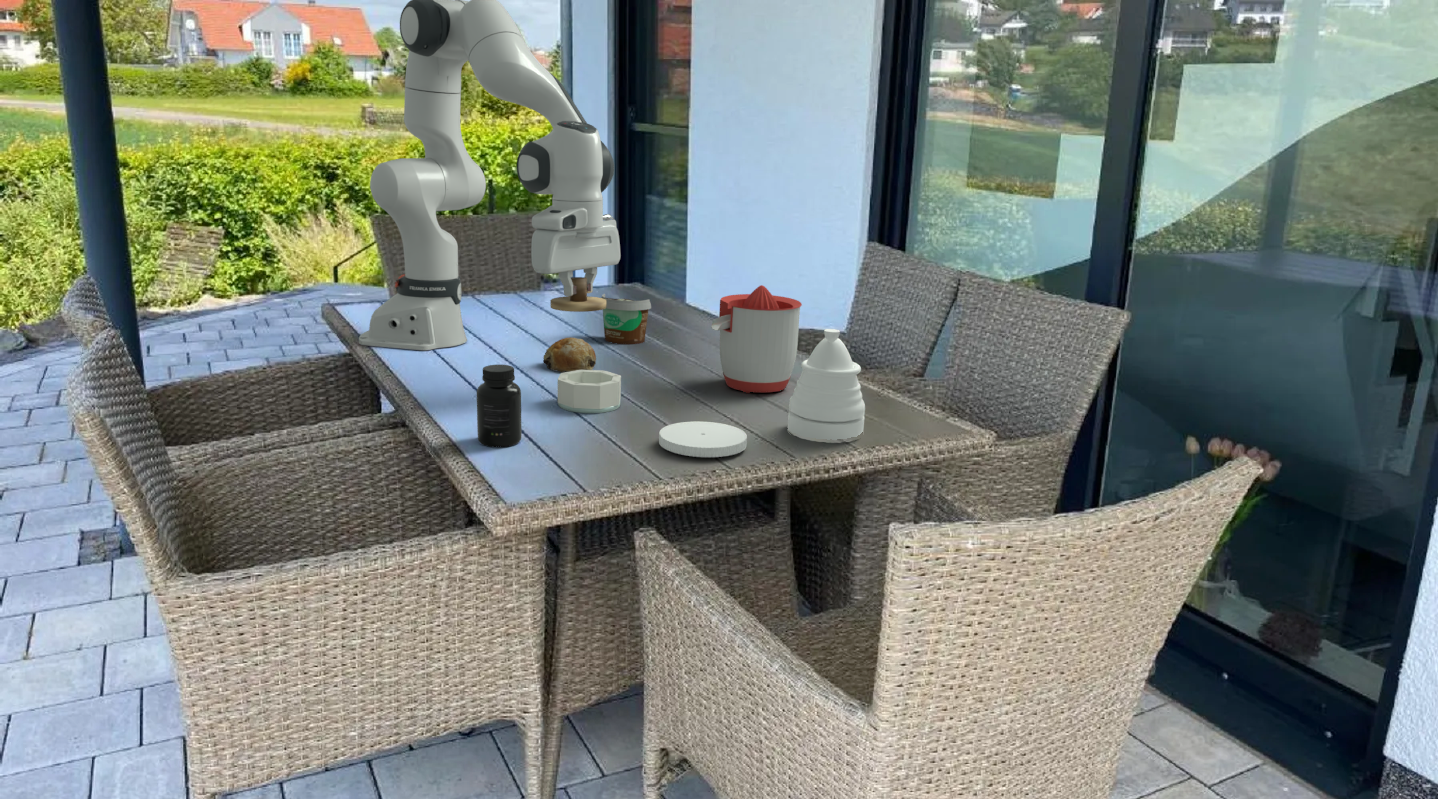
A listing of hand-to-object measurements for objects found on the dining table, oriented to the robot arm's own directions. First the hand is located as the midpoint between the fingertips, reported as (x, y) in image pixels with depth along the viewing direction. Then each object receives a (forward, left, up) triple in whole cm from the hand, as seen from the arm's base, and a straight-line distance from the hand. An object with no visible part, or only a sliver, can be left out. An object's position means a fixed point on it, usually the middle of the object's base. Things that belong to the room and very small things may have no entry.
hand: (578, 294), depth 194 cm
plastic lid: (+23, -29, -19) cm, 41 cm away
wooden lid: (0, 0, -2) cm, 2 cm away
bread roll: (-4, +21, -19) cm, 28 cm away
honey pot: (+44, -18, -19) cm, 51 cm away
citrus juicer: (+33, +10, -19) cm, 39 cm away
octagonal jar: (+3, -7, -19) cm, 20 cm away
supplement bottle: (-9, -30, -19) cm, 36 cm away
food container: (+5, +45, -19) cm, 50 cm away
